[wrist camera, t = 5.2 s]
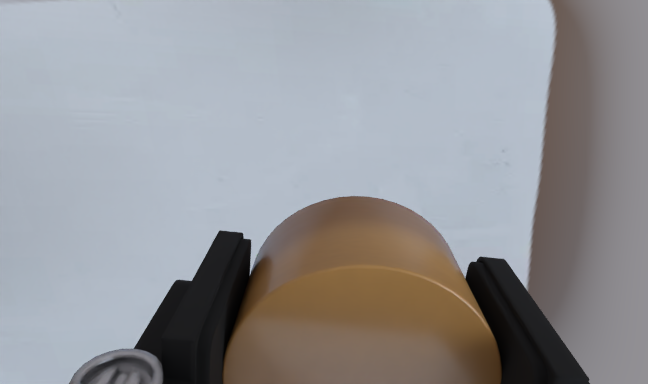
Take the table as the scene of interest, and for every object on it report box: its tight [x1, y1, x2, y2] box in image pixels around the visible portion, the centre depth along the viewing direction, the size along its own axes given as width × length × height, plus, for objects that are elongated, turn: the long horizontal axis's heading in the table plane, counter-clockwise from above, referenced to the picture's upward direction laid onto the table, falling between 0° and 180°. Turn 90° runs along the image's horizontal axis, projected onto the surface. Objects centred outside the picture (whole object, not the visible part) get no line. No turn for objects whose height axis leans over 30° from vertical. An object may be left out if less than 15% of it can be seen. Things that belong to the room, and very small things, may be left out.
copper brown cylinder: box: [222, 196, 502, 384], centre depth 10 cm, size 5×5×3 cm
